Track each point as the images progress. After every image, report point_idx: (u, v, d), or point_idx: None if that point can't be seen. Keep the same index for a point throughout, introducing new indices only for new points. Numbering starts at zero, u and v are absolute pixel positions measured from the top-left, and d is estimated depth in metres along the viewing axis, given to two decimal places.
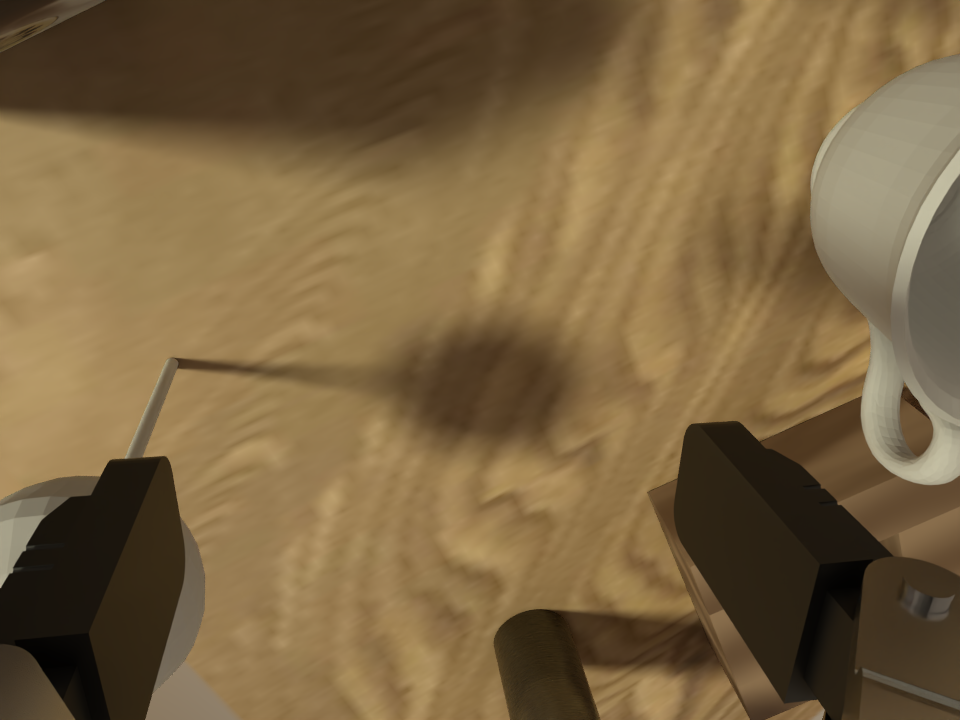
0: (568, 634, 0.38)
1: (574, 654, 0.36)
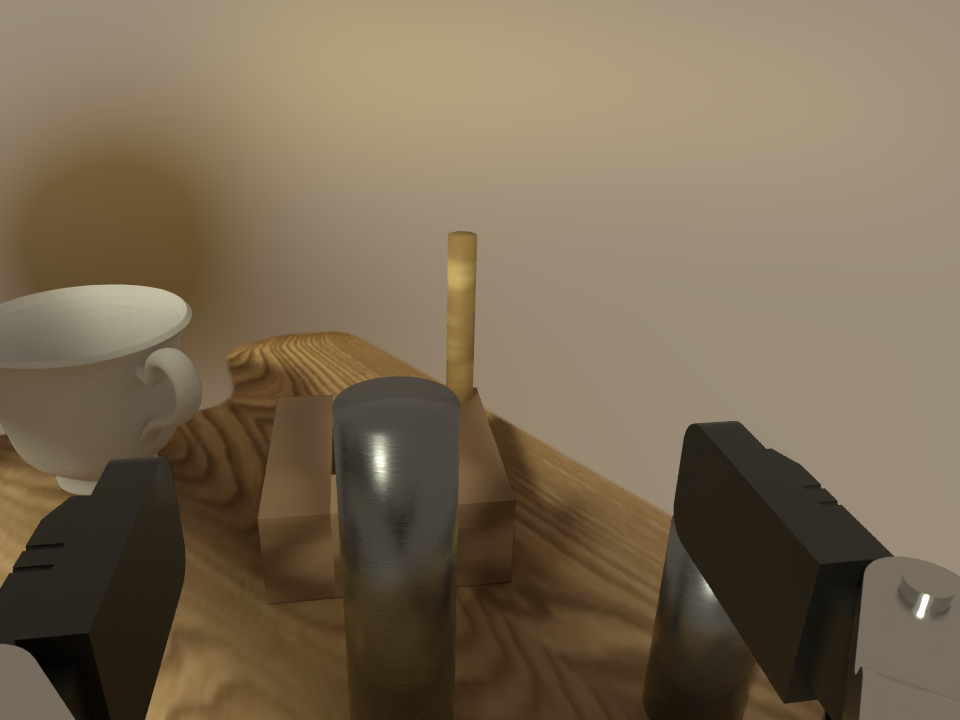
0: None
1: None
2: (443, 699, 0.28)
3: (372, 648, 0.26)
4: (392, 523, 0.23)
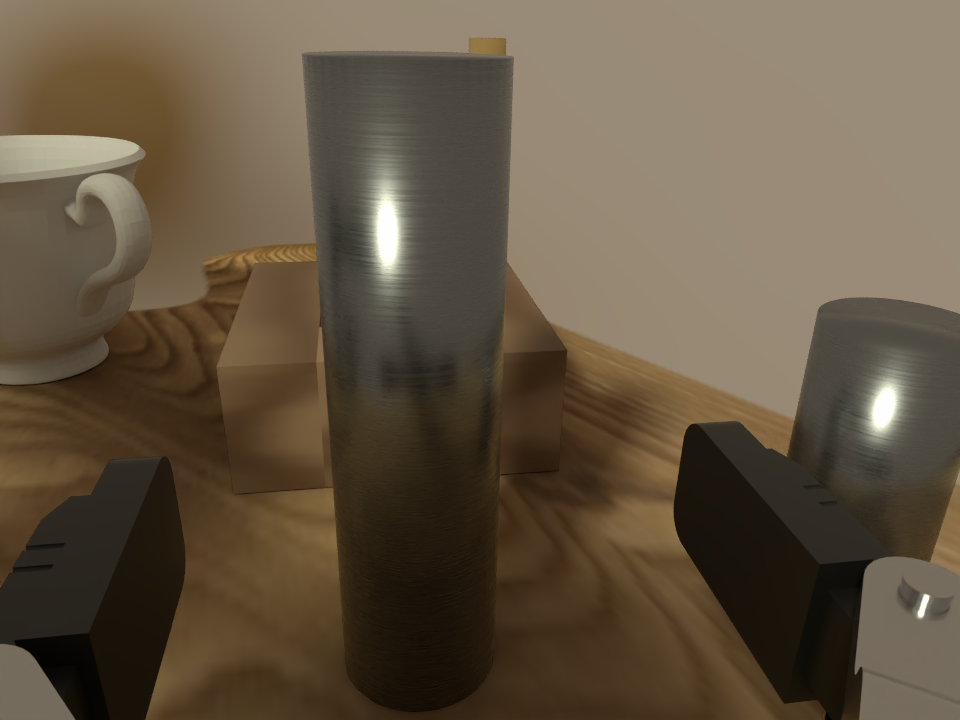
0: None
1: None
2: (481, 575, 0.18)
3: (374, 479, 0.16)
4: (403, 239, 0.14)
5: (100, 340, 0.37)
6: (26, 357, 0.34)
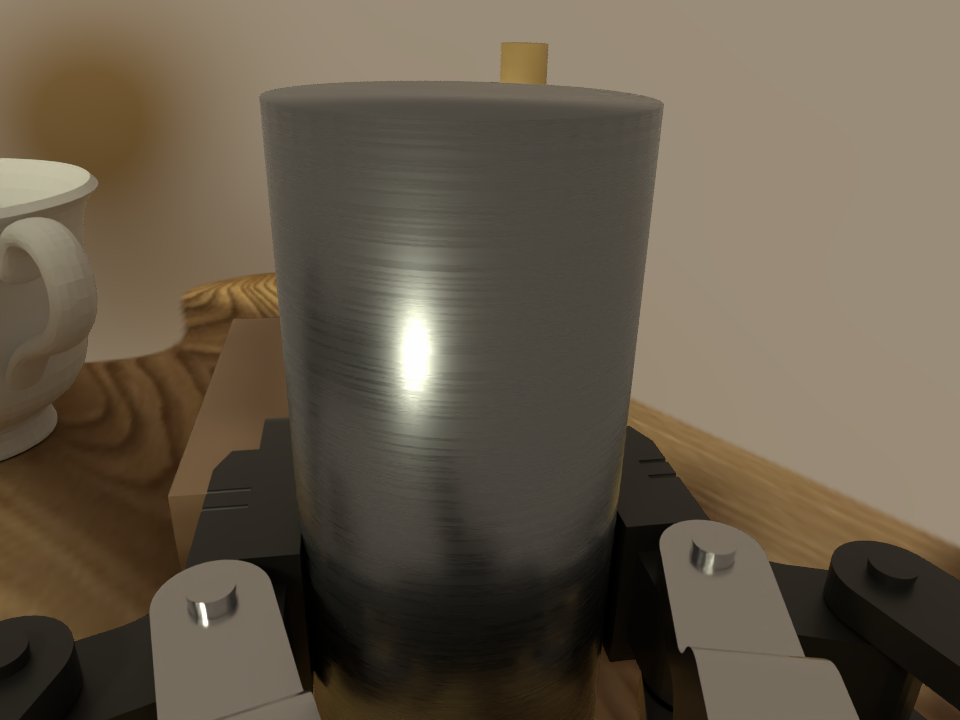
0: None
1: None
2: None
3: None
4: (455, 457, 0.07)
5: (45, 410, 0.30)
6: None
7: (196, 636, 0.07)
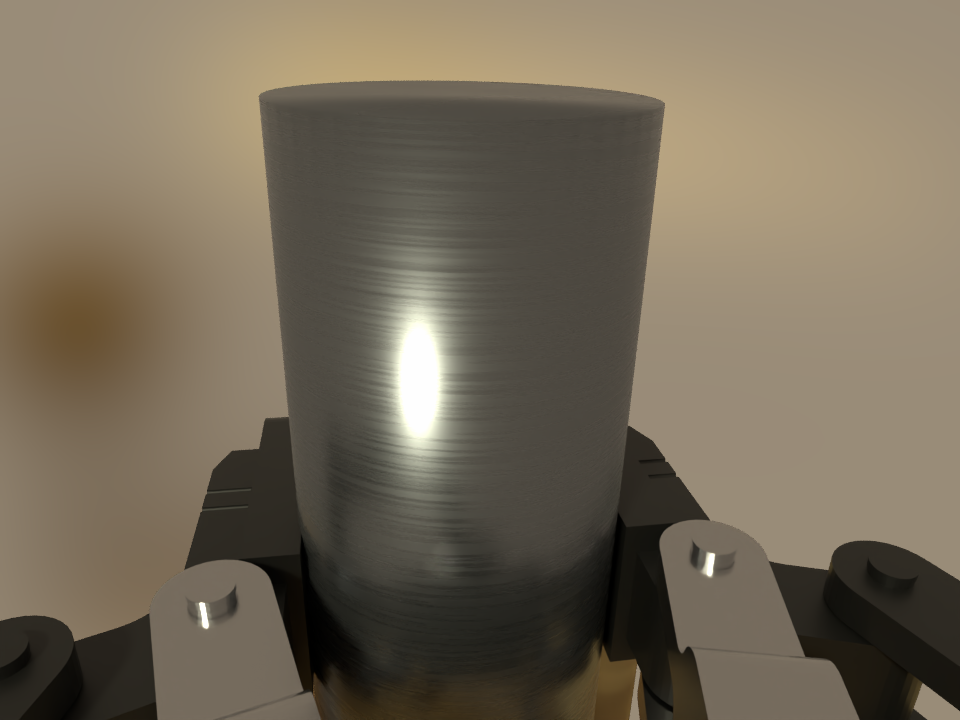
0: None
1: None
2: None
3: None
4: (456, 459, 0.07)
5: None
6: None
7: (196, 636, 0.07)
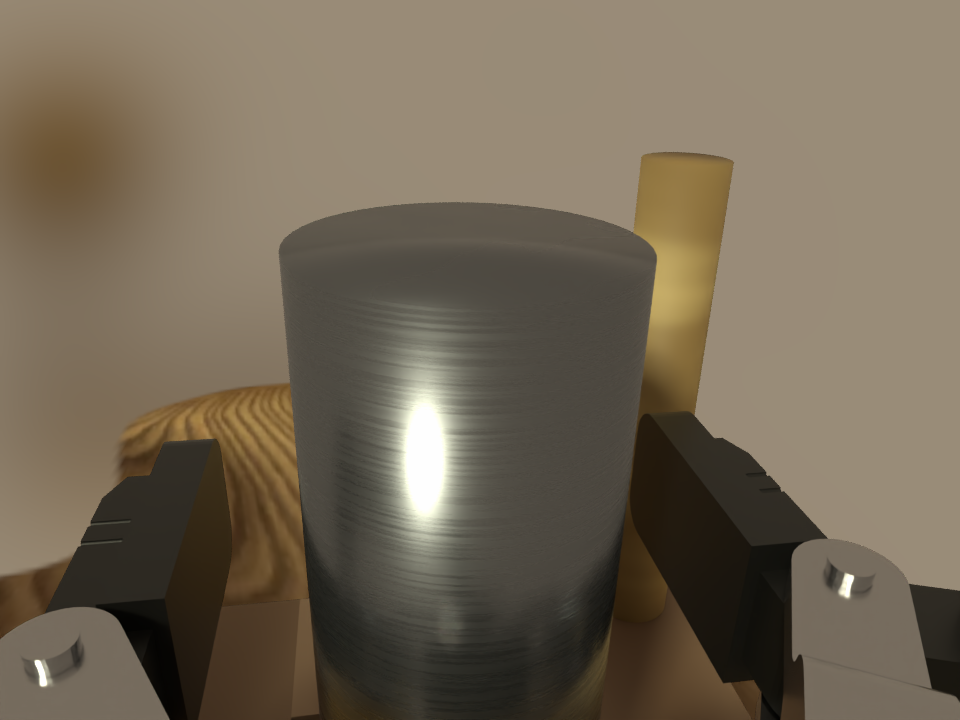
0: None
1: None
2: None
3: None
4: (462, 592, 0.08)
5: None
6: None
7: (23, 698, 0.07)
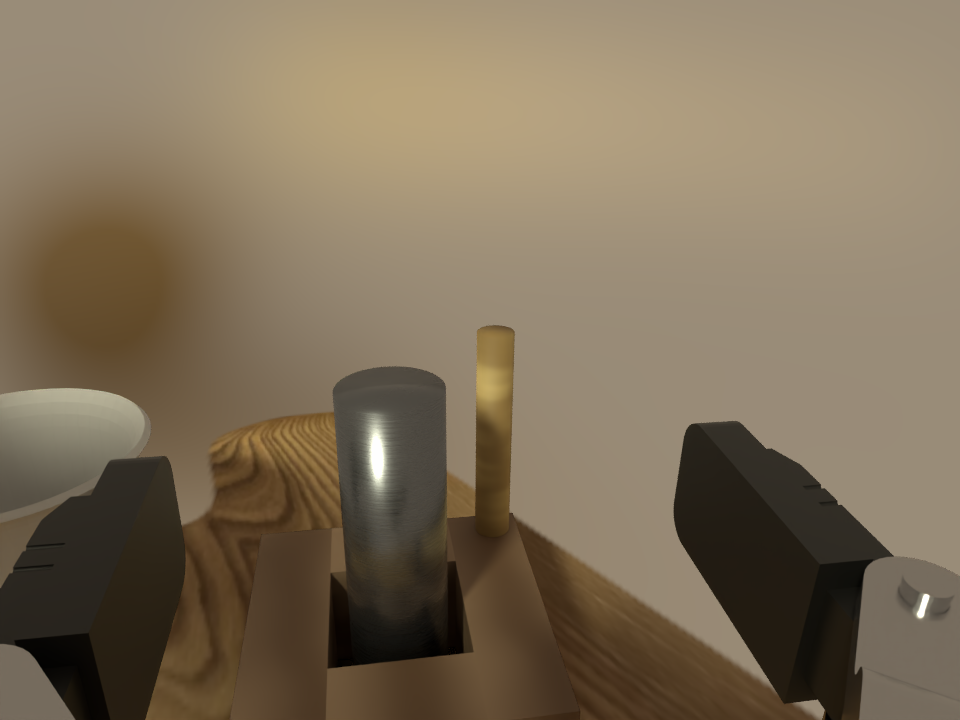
0: None
1: None
2: None
3: (372, 610, 0.29)
4: (386, 492, 0.26)
5: None
6: None
7: None
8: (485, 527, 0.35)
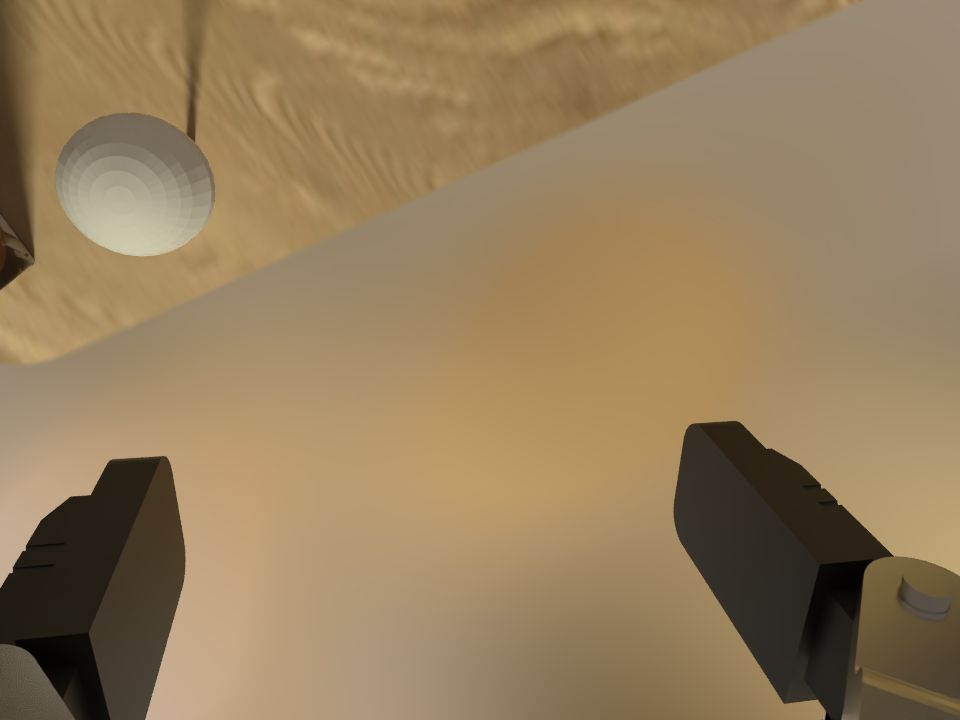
0: None
1: None
2: None
3: None
4: None
5: None
6: None
7: None
8: None
